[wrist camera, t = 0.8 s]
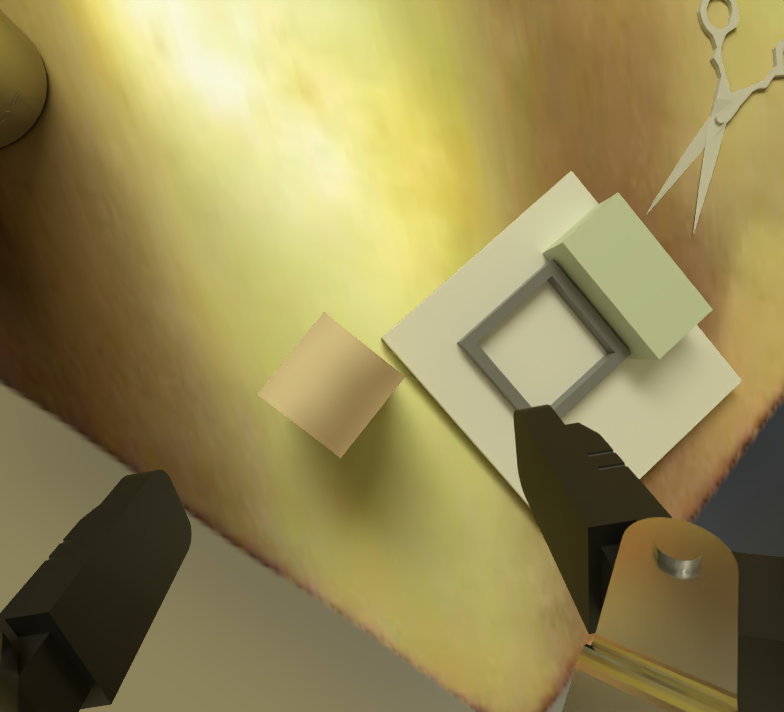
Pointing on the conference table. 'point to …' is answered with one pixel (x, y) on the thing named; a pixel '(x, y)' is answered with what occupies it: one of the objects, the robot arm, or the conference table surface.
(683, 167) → the scissors
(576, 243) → the pale green block
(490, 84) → the conference table surface
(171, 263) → the conference table surface
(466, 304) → the board
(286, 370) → the maple block
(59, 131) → the conference table surface
